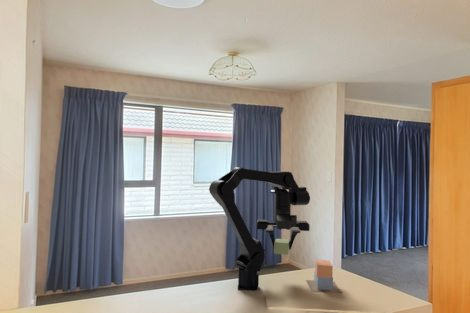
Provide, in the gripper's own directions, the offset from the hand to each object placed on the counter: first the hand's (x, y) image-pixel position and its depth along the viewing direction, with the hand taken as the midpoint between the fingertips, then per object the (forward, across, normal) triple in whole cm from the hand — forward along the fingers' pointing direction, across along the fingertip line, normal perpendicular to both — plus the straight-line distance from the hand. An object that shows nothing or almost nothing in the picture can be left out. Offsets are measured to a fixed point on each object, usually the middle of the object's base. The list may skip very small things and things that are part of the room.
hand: (282, 249), depth 125 cm
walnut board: (+12, +14, -5) cm, 19 cm away
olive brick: (+1, 0, 0) cm, 1 cm away
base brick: (+11, +14, -5) cm, 18 cm away
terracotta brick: (+7, +14, -5) cm, 16 cm away
